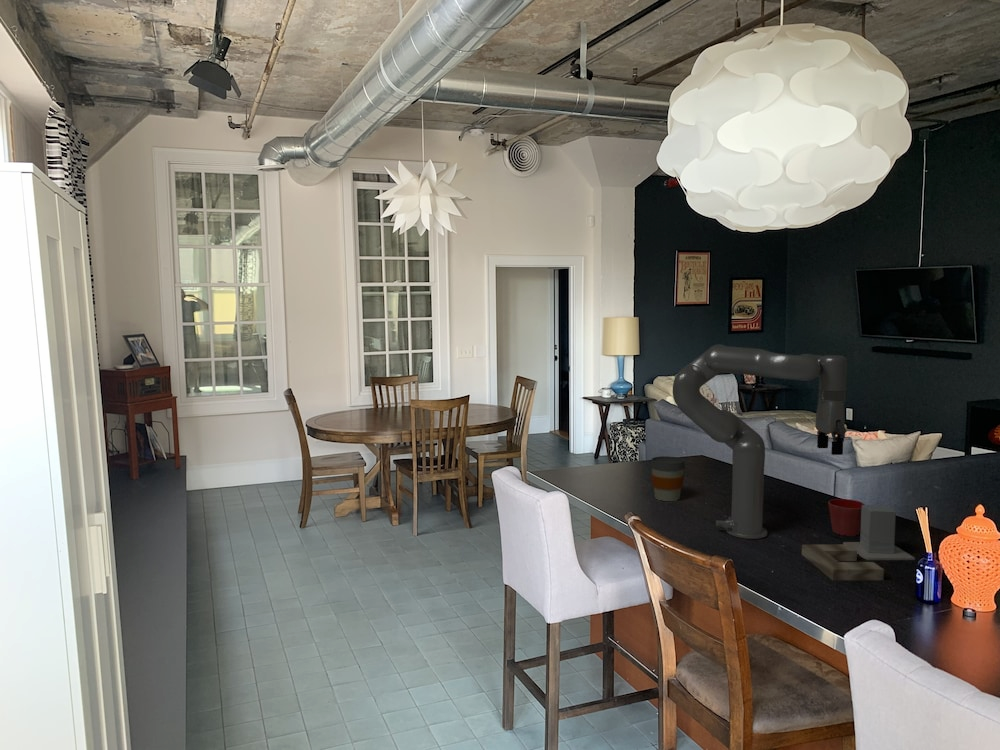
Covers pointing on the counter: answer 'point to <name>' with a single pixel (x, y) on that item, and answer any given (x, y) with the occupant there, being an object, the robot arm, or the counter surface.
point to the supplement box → (877, 529)
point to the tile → (866, 555)
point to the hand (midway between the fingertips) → (829, 451)
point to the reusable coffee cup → (667, 477)
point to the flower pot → (845, 516)
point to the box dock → (829, 565)
